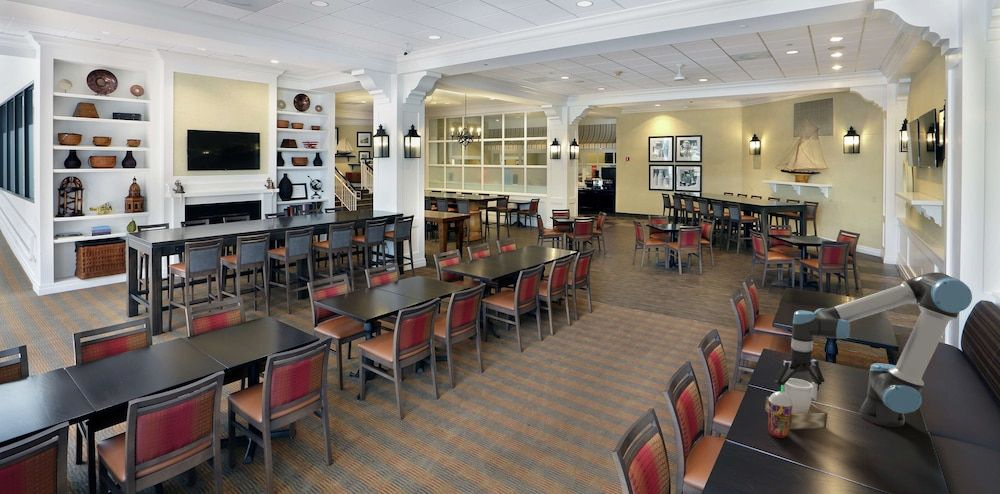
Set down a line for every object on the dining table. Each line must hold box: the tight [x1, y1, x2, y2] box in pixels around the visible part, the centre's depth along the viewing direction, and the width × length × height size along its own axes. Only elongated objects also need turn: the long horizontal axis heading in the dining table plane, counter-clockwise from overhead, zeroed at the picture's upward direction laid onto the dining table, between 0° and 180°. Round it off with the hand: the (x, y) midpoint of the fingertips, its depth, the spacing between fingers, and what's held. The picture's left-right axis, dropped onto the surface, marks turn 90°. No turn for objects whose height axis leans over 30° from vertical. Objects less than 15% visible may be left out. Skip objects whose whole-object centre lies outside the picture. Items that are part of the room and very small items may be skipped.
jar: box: [784, 377, 813, 414], centre depth 222 cm, size 11×10×15 cm
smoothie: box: [767, 385, 793, 439], centre depth 208 cm, size 8×8×20 cm
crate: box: [764, 396, 828, 430], centre depth 222 cm, size 16×17×6 cm
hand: (797, 399), depth 221 cm, fingers open, 13 cm apart
